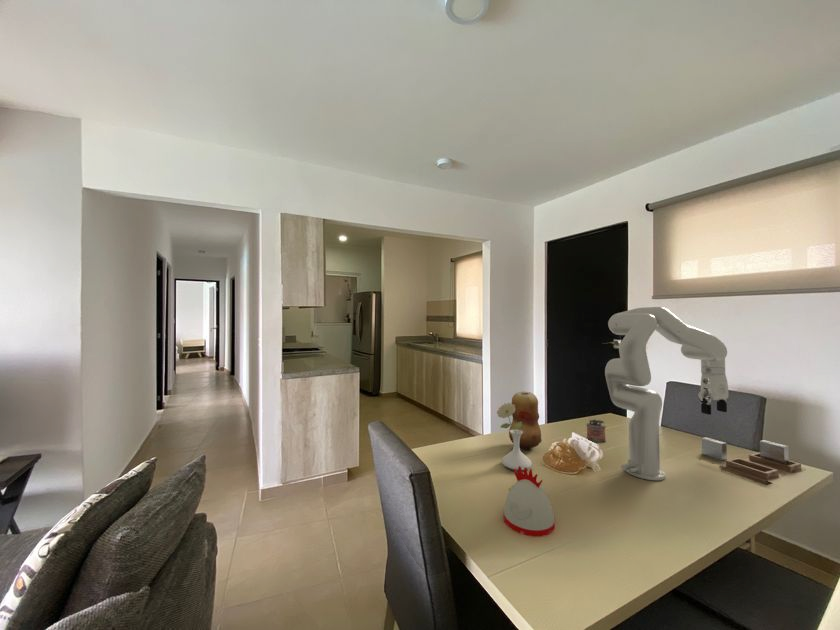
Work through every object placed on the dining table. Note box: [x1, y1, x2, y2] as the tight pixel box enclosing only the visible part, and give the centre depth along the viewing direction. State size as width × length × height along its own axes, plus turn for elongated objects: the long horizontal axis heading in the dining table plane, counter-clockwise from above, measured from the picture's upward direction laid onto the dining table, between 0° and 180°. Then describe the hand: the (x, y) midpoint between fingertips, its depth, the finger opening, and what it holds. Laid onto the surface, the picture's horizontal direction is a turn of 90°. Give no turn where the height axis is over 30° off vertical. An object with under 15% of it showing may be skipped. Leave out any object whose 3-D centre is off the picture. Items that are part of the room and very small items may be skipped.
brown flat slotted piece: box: [720, 451, 806, 486], centre depth 125 cm, size 26×13×4 cm, turn 110°
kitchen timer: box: [502, 466, 556, 538], centre depth 95 cm, size 14×14×15 cm
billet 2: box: [759, 439, 790, 465], centre depth 128 cm, size 3×7×8 cm, turn 20°
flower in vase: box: [496, 402, 533, 471], centre depth 130 cm, size 13×11×25 cm
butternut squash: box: [508, 391, 542, 450], centre depth 149 cm, size 14×13×25 cm
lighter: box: [586, 418, 607, 443], centre depth 159 cm, size 8×3×10 cm, turn 62°
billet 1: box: [701, 437, 728, 461], centre depth 136 cm, size 3×7×8 cm, turn 20°
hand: (714, 412), depth 137 cm, fingers open, 9 cm apart
